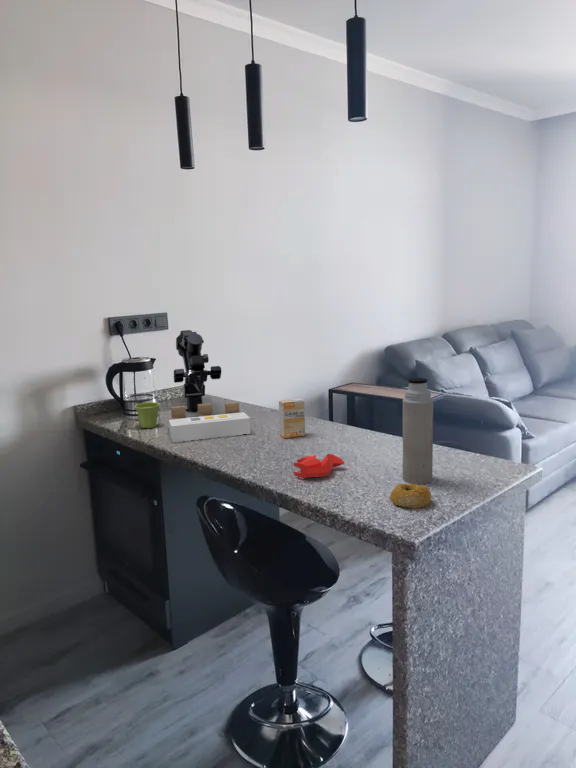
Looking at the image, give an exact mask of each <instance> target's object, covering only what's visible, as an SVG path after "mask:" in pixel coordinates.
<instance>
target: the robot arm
mask: <svg viewBox="0 0 576 768" xmlns="http://www.w3.org/2000/svg"><path fill="white" fill-rule="evenodd" d="M204 343H205V342H204V339H203V337H202V335H200V334H198V333H197V331H192V330H191V329H188V330H187V329H186V330H181V331H180V332H179V335H177V337H176V338H175V349H176V351H177V352H178V356H180V357H182V359H183V365H184V368H177V369H174V370H173V382H174V383H183V382H184V383H183V388H182V392H183V397H184V399H185V398H186V407H187V408H185V412H193V413H195V412H198V404H203V398H202V397H205V396H206V384H205V383H206V382H207V381H208V376H209V377H210V379H211V380H220V379H221V376H222V367H221V366H220V365H214V366H213V365H212V366H210V369H206V367H205V364H206V363H209V360H210V359H209V354H207V353H203V355H202V349H203V346H202V345H203V344H204Z"/></svg>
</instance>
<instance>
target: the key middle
mask: <svg viewBox="0 0 576 768" xmlns="http://www.w3.org/2000/svg"><path fill="white" fill-rule="evenodd" d="M211 415H213V405H212V403H211V402H209V403H202V404H198V411H197V417H201V416H211Z"/></svg>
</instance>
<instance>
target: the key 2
mask: <svg viewBox="0 0 576 768" xmlns="http://www.w3.org/2000/svg"><path fill="white" fill-rule="evenodd" d="M230 413H240V403H239V401H235V402H225V403H224V414H230Z"/></svg>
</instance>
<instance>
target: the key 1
mask: <svg viewBox="0 0 576 768" xmlns="http://www.w3.org/2000/svg"><path fill="white" fill-rule="evenodd" d="M185 409H186V407H185V405H177V406H170V412H171V420H172V419H181V418H187V417H186V414H187V413H186V410H185Z"/></svg>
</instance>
